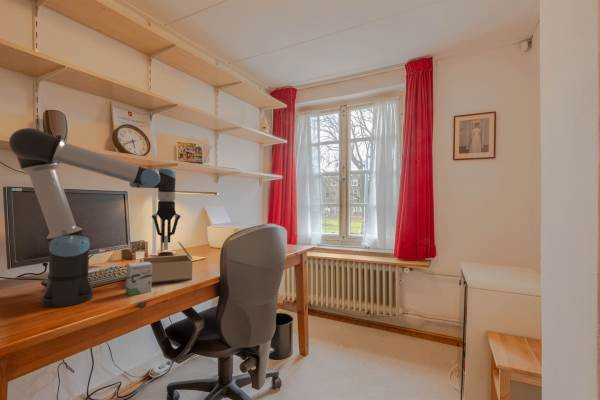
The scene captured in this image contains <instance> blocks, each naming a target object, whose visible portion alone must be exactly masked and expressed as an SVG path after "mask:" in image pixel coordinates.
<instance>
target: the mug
mask: <svg viewBox="0 0 600 400" xmlns="http://www.w3.org/2000/svg"><path fill="white" fill-rule="evenodd" d="M160 256H175V254H174V253H173V252H172V251H161V252H158V253H157V257H160Z"/></svg>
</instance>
